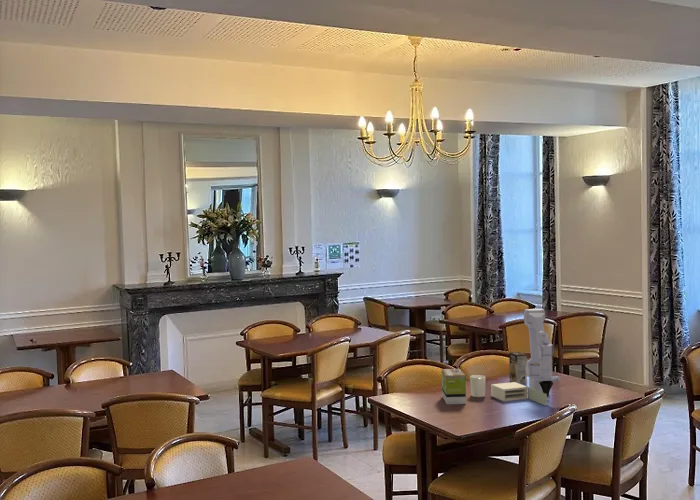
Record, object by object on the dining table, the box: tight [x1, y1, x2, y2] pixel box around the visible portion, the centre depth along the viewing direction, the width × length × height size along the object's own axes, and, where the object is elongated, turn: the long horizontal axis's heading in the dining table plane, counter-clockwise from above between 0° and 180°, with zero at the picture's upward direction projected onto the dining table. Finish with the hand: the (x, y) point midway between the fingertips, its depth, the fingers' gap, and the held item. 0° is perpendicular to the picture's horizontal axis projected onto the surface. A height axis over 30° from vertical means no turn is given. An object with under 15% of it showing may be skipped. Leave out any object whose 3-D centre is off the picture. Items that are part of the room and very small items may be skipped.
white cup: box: [469, 374, 487, 398], centre depth 352 cm, size 8×8×10 cm
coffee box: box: [509, 351, 528, 385], centre depth 381 cm, size 9×6×16 cm
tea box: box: [441, 368, 467, 405], centre depth 343 cm, size 15×10×15 cm, turn 1°
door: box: [527, 386, 549, 406], centre depth 337 cm, size 15×2×6 cm, turn 19°
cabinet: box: [490, 381, 529, 402], centre depth 347 cm, size 14×12×6 cm
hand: (546, 396), depth 335 cm, fingers closed
